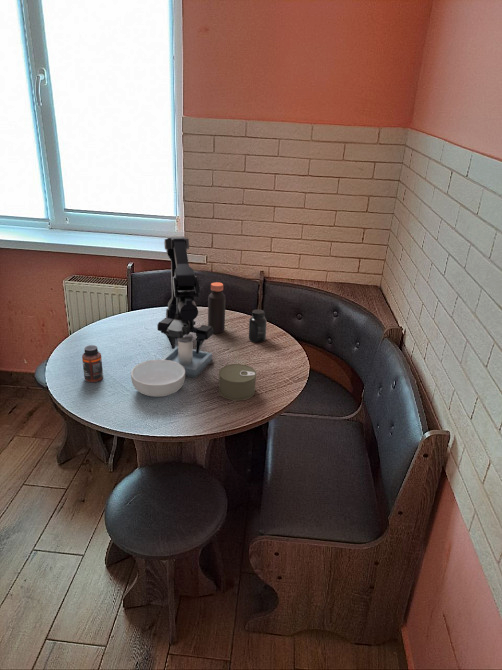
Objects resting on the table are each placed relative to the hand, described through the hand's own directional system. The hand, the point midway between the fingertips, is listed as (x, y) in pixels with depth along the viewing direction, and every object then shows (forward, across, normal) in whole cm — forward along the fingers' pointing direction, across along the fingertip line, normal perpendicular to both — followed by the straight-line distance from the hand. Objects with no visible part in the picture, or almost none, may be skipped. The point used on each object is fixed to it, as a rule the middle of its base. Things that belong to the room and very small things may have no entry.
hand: (185, 350), depth 173 cm
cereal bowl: (+6, 0, -19) cm, 20 cm away
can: (+6, +23, -9) cm, 25 cm away
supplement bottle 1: (+6, -23, -21) cm, 32 cm away
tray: (+6, 0, 0) cm, 6 cm away
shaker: (+4, 0, 0) cm, 4 cm away
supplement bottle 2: (+6, +16, +31) cm, 35 cm away
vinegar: (+6, -2, +32) cm, 33 cm away
